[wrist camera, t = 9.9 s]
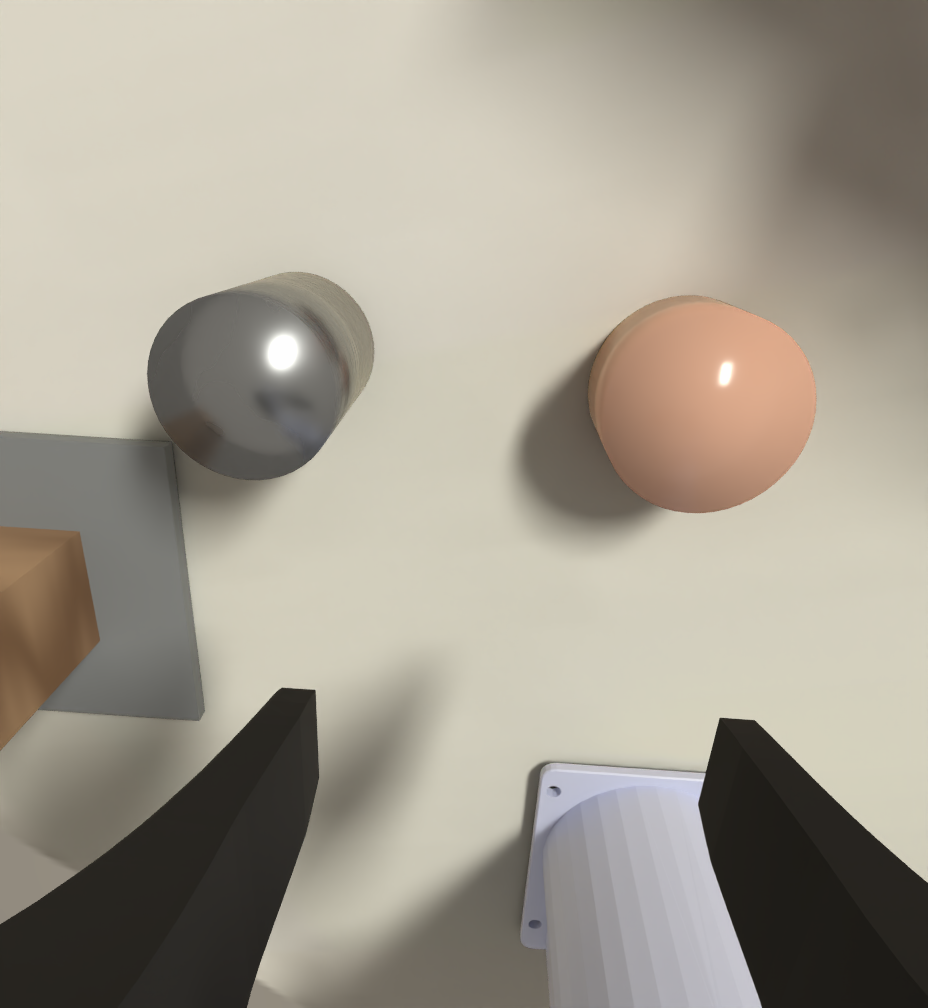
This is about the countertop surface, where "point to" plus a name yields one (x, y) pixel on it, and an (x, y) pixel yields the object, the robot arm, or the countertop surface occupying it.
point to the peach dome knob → (700, 403)
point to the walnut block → (40, 619)
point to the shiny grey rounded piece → (260, 373)
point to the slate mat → (115, 566)
